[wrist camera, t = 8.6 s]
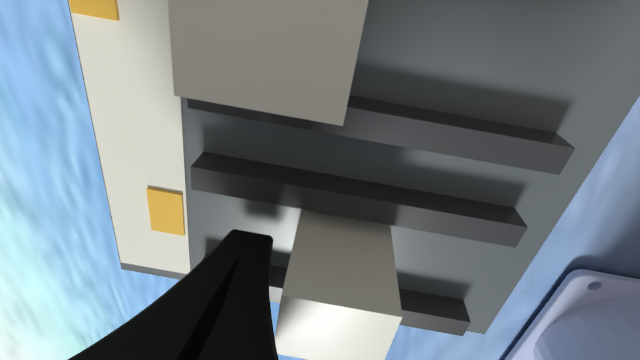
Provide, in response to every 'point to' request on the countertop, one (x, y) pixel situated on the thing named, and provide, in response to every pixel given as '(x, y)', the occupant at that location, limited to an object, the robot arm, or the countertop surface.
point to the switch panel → (372, 142)
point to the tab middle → (268, 54)
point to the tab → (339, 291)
